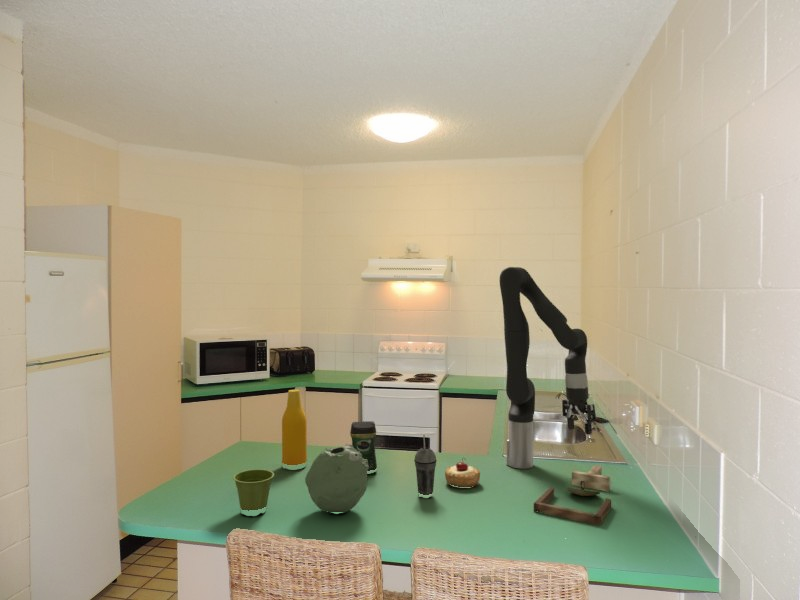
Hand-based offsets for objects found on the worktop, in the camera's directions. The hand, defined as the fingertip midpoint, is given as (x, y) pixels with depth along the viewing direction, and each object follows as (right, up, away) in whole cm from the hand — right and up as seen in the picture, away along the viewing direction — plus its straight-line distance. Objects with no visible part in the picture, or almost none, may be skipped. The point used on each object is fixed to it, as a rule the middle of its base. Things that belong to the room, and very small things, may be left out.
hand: (579, 431), depth 191 cm
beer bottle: (-103, -17, +14) cm, 106 cm away
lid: (-5, -17, -17) cm, 25 cm away
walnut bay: (-11, -17, -27) cm, 33 cm away
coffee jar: (-77, -17, +8) cm, 79 cm away
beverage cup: (-55, -17, -16) cm, 60 cm away
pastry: (-42, -17, -5) cm, 46 cm away
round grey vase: (-82, -17, -29) cm, 89 cm away
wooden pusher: (+3, -17, -4) cm, 18 cm away
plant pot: (-107, -18, -29) cm, 112 cm away
